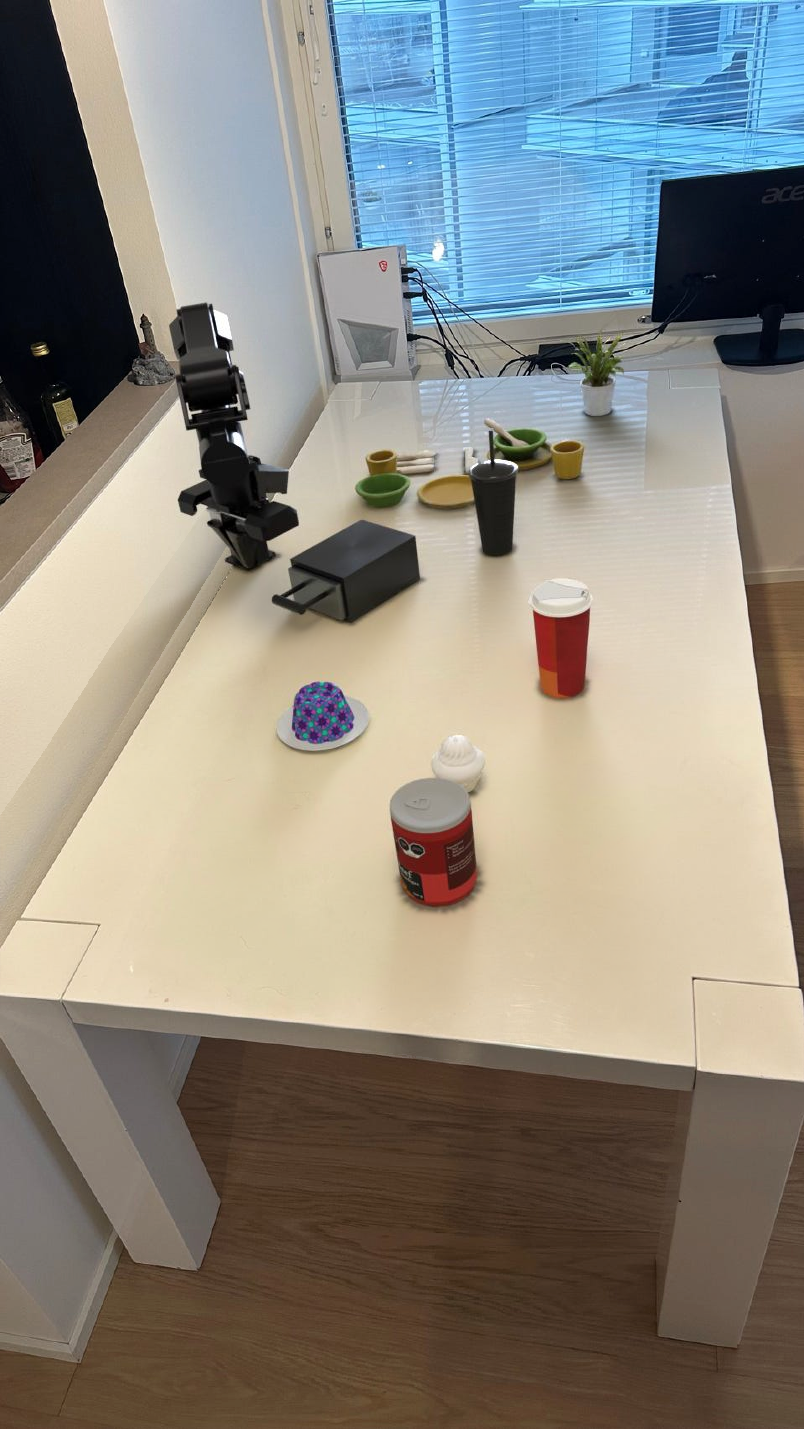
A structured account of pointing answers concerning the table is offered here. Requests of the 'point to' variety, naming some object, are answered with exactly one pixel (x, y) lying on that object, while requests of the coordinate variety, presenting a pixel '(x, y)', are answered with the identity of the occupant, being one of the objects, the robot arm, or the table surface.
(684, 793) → the table surface
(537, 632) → the paper cup
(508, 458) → the tableware set
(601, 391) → the house plant
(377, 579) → the cabinet
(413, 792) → the canned food
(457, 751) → the muffin
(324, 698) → the pudding
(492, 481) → the drinking cup
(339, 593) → the drawer
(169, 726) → the table surface
